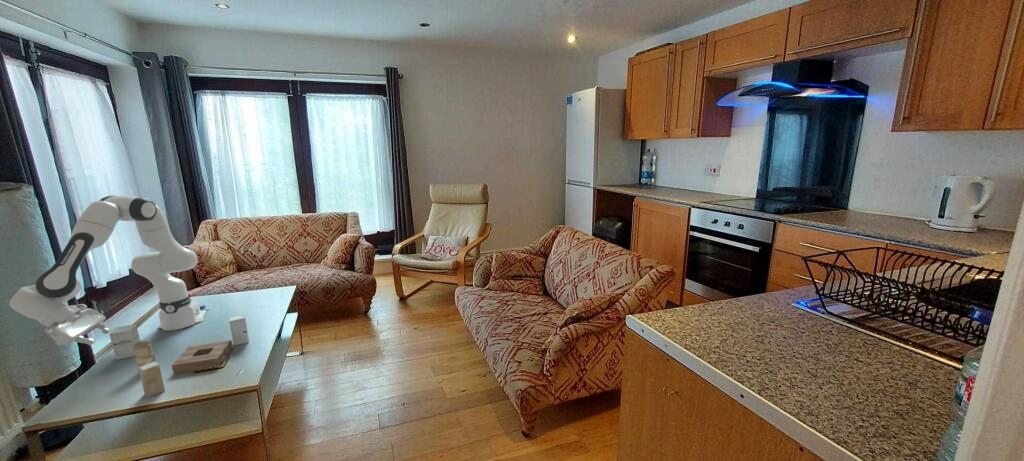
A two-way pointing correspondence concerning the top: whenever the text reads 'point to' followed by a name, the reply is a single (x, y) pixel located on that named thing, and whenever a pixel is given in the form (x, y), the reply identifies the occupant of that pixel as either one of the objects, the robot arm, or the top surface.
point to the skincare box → (239, 330)
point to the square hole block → (202, 356)
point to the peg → (144, 352)
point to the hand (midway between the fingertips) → (101, 337)
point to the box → (151, 379)
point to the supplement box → (124, 340)
